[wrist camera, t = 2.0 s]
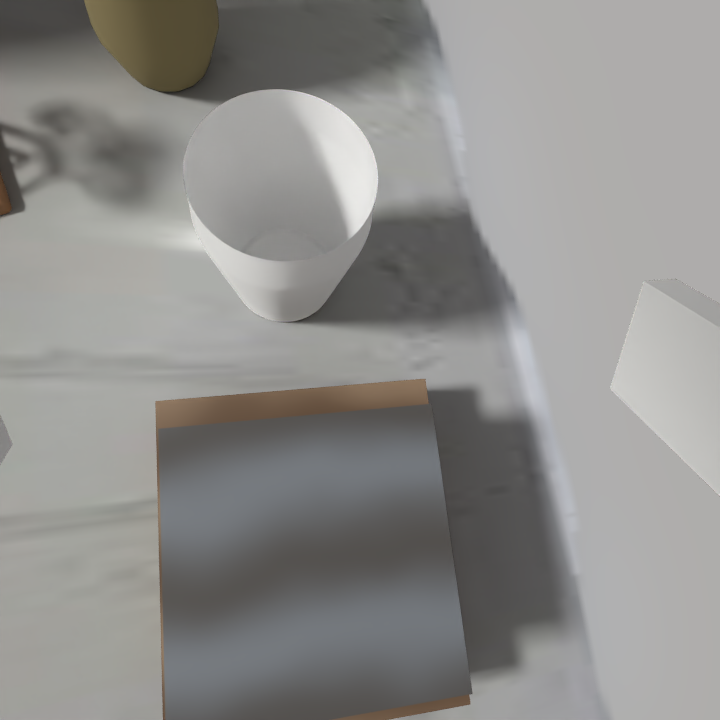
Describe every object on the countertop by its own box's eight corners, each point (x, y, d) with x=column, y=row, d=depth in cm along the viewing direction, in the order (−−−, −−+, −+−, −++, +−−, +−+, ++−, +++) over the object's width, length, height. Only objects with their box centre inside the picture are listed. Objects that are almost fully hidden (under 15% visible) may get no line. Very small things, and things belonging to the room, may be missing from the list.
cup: (210, 216, 35) (174, 86, 24) (343, 211, 37) (369, 85, 25) (219, 345, 33) (183, 271, 22) (358, 334, 35) (394, 259, 23)
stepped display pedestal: (171, 411, 32) (134, 387, 24) (409, 390, 34) (445, 362, 27) (180, 723, 28) (141, 812, 21) (447, 677, 31) (501, 740, 23)
